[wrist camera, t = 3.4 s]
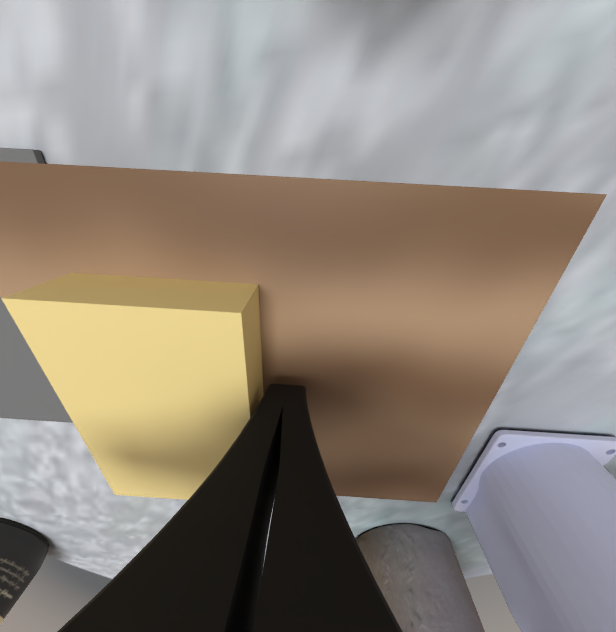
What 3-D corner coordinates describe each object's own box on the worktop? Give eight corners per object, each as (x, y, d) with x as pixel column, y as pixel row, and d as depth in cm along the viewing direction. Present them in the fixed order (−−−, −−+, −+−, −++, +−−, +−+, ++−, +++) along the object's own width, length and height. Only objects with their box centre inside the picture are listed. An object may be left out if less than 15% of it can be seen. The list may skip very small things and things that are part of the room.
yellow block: (266, 457, 12) (257, 504, 10) (144, 449, 12) (115, 494, 10) (258, 283, 8) (241, 312, 6) (71, 272, 8) (1, 297, 6)
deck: (411, 436, 17) (436, 502, 13) (150, 418, 17) (107, 479, 14) (504, 190, 10) (606, 194, 6) (57, 165, 10) (-83, 156, 7)
